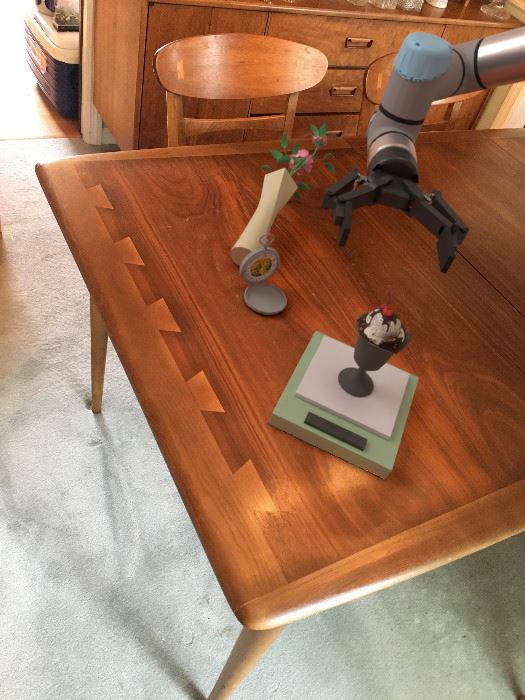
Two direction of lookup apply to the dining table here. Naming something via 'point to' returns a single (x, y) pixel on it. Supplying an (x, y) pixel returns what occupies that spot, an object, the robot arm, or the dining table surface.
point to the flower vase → (277, 193)
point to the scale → (345, 407)
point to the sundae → (373, 348)
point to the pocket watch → (259, 293)
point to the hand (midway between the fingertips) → (396, 251)
